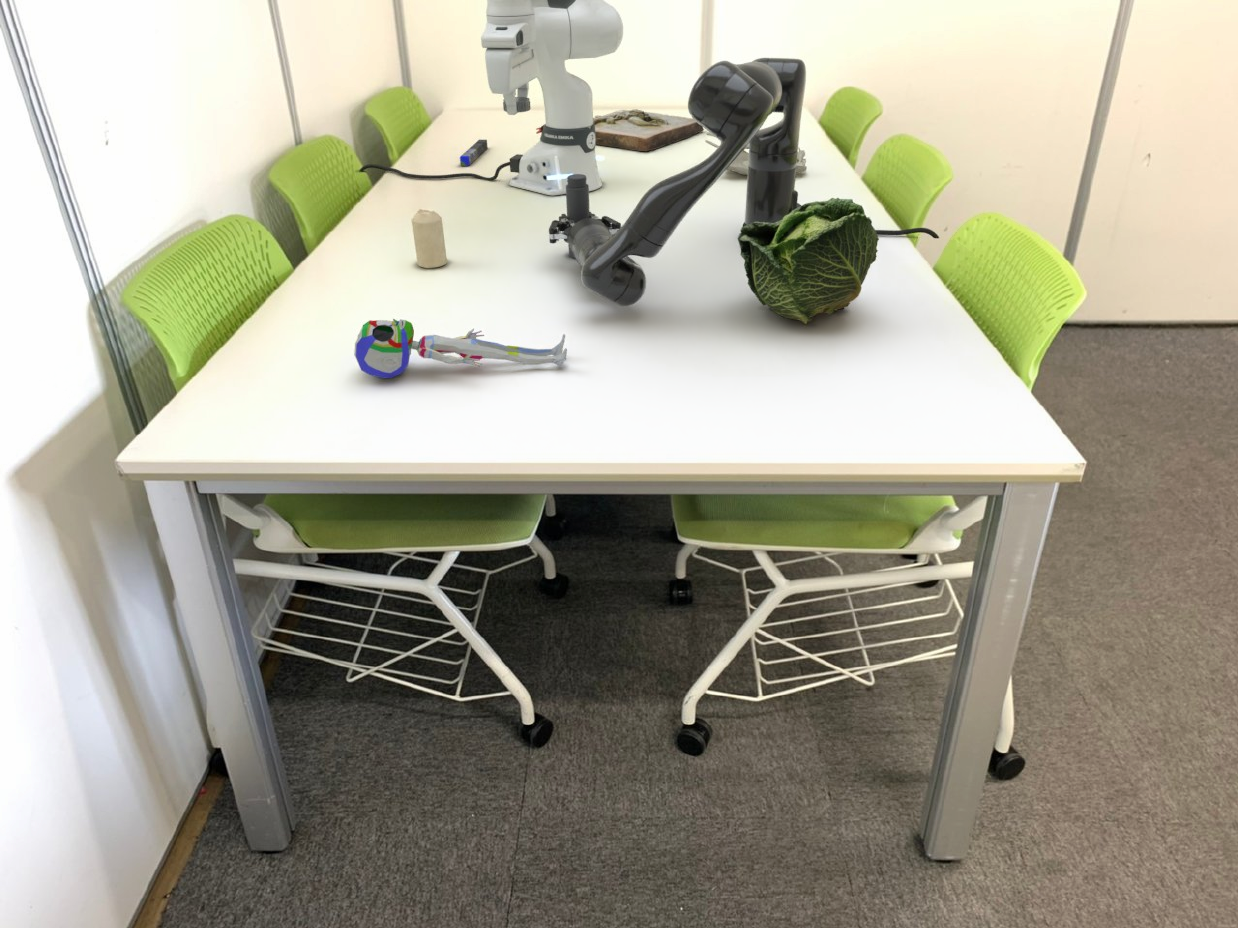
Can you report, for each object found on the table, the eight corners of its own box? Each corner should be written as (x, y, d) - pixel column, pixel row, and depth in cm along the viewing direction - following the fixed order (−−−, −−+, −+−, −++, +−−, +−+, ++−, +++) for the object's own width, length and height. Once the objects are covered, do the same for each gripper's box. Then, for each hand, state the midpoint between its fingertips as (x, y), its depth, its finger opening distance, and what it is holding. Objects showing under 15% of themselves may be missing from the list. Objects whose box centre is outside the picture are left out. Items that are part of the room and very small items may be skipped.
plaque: (647, 125, 237) (559, 112, 252) (647, 153, 241) (560, 139, 256) (706, 107, 258) (622, 97, 273) (705, 133, 262) (622, 121, 277)
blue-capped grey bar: (486, 139, 247) (467, 157, 231) (487, 147, 249) (468, 166, 232) (479, 139, 248) (459, 157, 231) (479, 147, 249) (460, 166, 232)
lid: (506, 107, 175) (505, 97, 174) (532, 107, 174) (531, 96, 173) (501, 112, 170) (500, 102, 169) (528, 112, 170) (527, 101, 169)
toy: (569, 347, 126) (349, 329, 122) (563, 400, 131) (350, 385, 126) (565, 318, 135) (359, 301, 130) (559, 369, 139) (360, 354, 134)
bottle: (590, 251, 175) (588, 173, 167) (591, 258, 172) (588, 179, 164) (568, 251, 175) (565, 173, 167) (568, 259, 171) (565, 179, 163)
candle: (452, 259, 172) (446, 207, 166) (438, 269, 167) (431, 216, 162) (426, 257, 173) (419, 205, 168) (412, 266, 169) (404, 213, 163)
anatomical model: (707, 129, 226) (808, 127, 222) (707, 166, 231) (805, 165, 227) (703, 143, 213) (809, 141, 210) (703, 182, 218) (807, 181, 215)
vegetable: (766, 338, 156) (713, 238, 148) (856, 276, 157) (807, 174, 149) (821, 359, 137) (763, 246, 129) (922, 289, 138) (870, 173, 131)
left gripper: (512, 25, 174) (517, 101, 181) (477, 38, 157) (484, 121, 165) (543, 25, 173) (548, 101, 180) (511, 39, 156) (517, 122, 163)
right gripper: (632, 221, 157) (611, 195, 171) (552, 228, 155) (537, 201, 169) (633, 262, 161) (612, 233, 175) (554, 270, 159) (540, 240, 173)
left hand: (517, 111), depth 172 cm, fingers closed on lid, 5 cm apart
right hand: (575, 218), depth 172 cm, fingers closed on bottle, 4 cm apart
